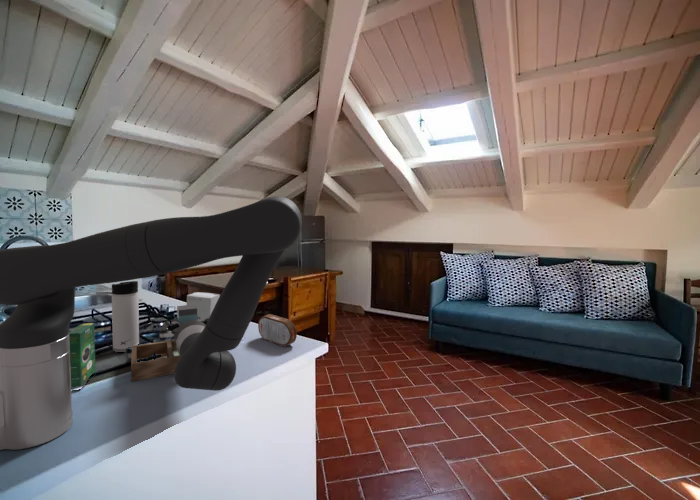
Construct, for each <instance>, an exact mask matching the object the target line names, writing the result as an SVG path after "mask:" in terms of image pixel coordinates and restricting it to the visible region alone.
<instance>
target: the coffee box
mask: <svg viewBox="0 0 700 500" xmlns="http://www.w3.org/2000/svg"><path fill="white" fill-rule="evenodd" d="M95 339H96V338H95V322H87V323H86V322H85V323H80V324H79V325H77V326H76V327H74V328H73V329H71V330H69V341H70V369H71V387H76V386H82V385H83V383H84V382H85V381H86V380H87V379H88V378H89V377H90V376H91V375H92V374H93V373H94V372H95V373H96V346H95V345H96V344H95V343H96V341H95Z"/></svg>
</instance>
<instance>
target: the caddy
mask: <svg viewBox="0 0 700 500" xmlns="http://www.w3.org/2000/svg"><path fill="white" fill-rule="evenodd" d="M154 353H155V354H158V355H161V356H167V358H161V359H155V360H154V359H152V360H149V361H140V362H137V360H139V359H144V358H148V357H150V356H152V355H153V354H154ZM130 357H131V358H130V359H131V361H130V362H131V363H130V369H131V370H130V376H131V377H130V378H131V381H130V382H137V381H141V380H147V379H152V378H156V377H162V376H167V375H172V374H173V375H174V372H175V367H176V364H177V362H178V360H179V359H180V357H181V356H180V355H179V354H178V351H177V348H176V343H175V339H172V340H171V339H170V340H163V341H157V342H150V343H142V344H139V345H135V346H132V351H131V356H130Z"/></svg>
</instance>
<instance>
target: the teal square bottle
mask: <svg viewBox="0 0 700 500" xmlns="http://www.w3.org/2000/svg"><path fill="white" fill-rule="evenodd" d="M176 318H177V319H178V322H182V323H185V322H187V321H191V320H197V307H196V305H195V304H194V305H187V304H185V305H177V307H176ZM178 354H179V352H178ZM179 355H180V354H179Z"/></svg>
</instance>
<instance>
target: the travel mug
mask: <svg viewBox="0 0 700 500" xmlns="http://www.w3.org/2000/svg"><path fill="white" fill-rule="evenodd" d="M138 281H139V280H138ZM138 281H137V280H128V281H121V282H119V283H116V284H115V283H113V284H112V283H111V317H112V321H111V322H112V323H111V325H112V326H111V327H112V351H113V352H114V351H115V353H117V352H124V353H126V352H125V350H126V348H128V347H132V346H135V345H138V344H139V345H140V330H139V329H140V324H139V323H140V319H139V311H140V310H139V289H138V288H139V282H138Z"/></svg>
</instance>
